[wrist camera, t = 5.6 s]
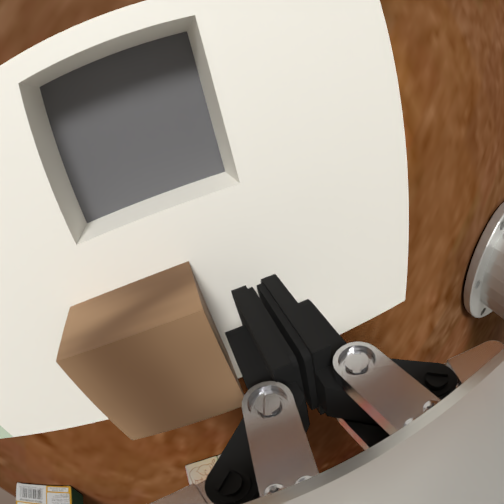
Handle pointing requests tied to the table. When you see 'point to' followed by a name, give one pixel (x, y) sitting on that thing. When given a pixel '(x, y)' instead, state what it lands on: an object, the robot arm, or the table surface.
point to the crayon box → (47, 494)
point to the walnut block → (150, 355)
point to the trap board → (195, 173)
